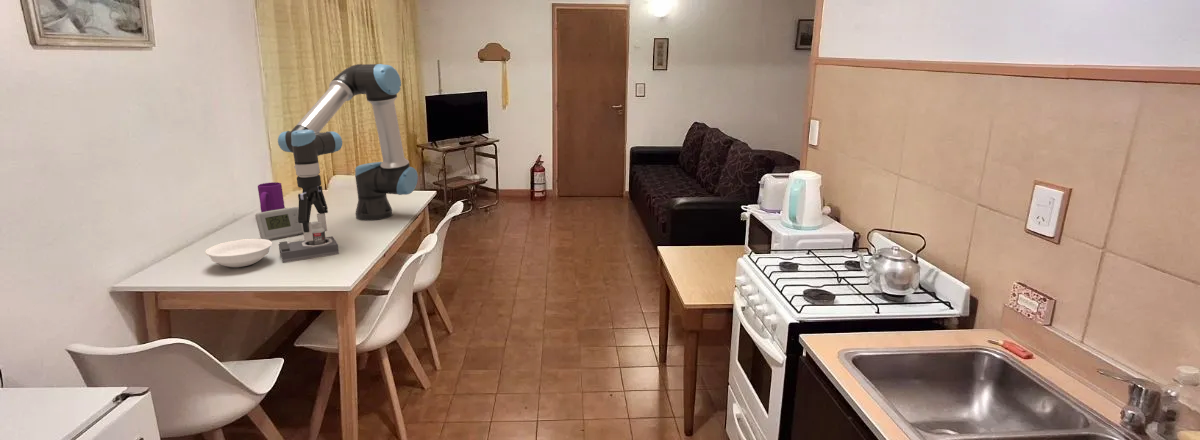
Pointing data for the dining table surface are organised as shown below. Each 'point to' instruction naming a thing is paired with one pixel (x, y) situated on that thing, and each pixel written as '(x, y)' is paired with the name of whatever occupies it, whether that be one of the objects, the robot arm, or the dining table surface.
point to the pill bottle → (317, 234)
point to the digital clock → (279, 223)
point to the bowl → (239, 252)
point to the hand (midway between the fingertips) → (316, 235)
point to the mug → (271, 196)
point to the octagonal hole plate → (307, 249)
